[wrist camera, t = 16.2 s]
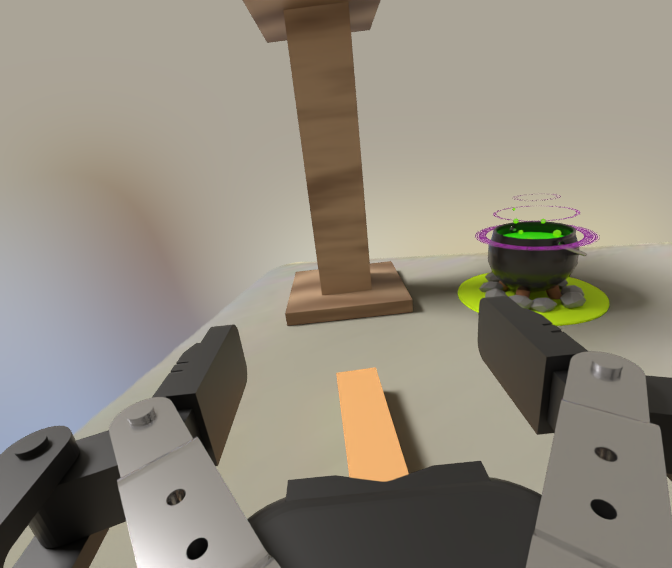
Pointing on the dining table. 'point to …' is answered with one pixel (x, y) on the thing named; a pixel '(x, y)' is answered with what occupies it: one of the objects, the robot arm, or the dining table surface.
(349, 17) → the shelf stand
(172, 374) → the robot arm
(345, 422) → the handle bar
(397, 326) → the dining table surface
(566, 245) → the toy cauldron
